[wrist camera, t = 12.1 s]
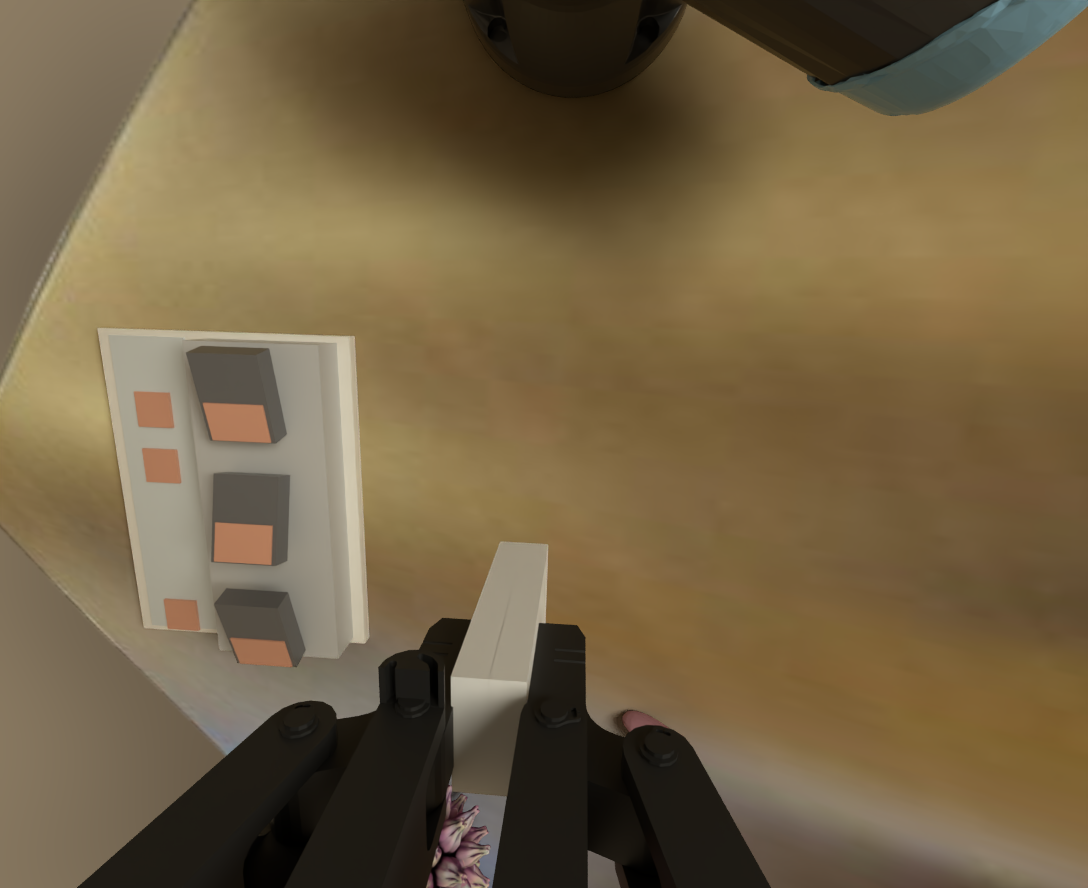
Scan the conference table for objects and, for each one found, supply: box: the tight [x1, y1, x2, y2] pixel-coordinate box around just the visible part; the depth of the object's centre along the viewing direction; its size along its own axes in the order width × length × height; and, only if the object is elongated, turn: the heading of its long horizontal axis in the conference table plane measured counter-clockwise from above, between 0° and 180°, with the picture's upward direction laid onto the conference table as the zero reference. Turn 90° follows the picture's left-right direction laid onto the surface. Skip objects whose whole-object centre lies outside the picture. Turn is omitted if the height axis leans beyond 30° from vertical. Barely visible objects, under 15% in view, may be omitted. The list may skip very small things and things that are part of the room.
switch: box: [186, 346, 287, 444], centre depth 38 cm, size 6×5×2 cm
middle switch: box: [211, 472, 290, 566], centre depth 40 cm, size 6×5×2 cm
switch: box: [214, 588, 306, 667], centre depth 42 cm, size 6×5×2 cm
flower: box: [426, 785, 491, 888], centre depth 46 cm, size 12×12×12 cm
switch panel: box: [97, 327, 369, 659], centre depth 44 cm, size 26×20×4 cm
